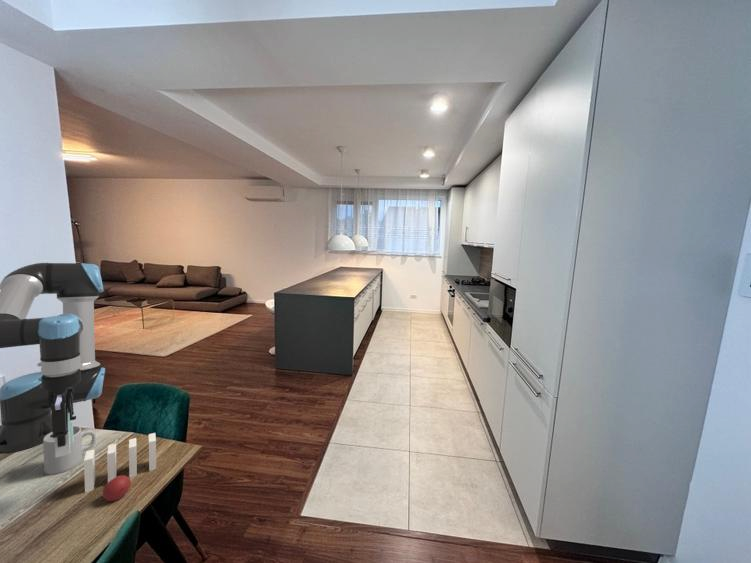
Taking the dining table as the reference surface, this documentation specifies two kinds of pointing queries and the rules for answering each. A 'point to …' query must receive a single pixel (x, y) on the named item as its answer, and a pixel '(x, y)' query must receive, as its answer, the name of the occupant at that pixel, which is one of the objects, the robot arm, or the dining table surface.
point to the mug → (67, 461)
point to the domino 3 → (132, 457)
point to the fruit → (116, 488)
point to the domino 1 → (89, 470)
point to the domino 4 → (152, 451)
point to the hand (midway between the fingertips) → (64, 449)
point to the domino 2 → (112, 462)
